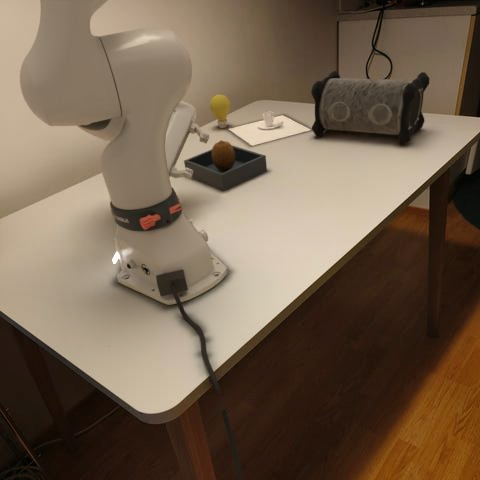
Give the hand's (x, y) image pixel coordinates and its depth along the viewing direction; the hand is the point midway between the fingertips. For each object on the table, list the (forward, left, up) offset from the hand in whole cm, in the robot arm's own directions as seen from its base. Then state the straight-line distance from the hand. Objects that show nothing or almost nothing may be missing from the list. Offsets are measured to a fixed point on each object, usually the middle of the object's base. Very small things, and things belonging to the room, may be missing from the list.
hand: (200, 156), depth 101 cm
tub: (+11, -14, -11) cm, 21 cm away
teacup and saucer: (+27, -44, -12) cm, 53 cm away
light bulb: (+43, -38, -12) cm, 59 cm away
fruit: (+11, -14, -11) cm, 21 cm away
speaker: (-2, -56, -12) cm, 57 cm away
